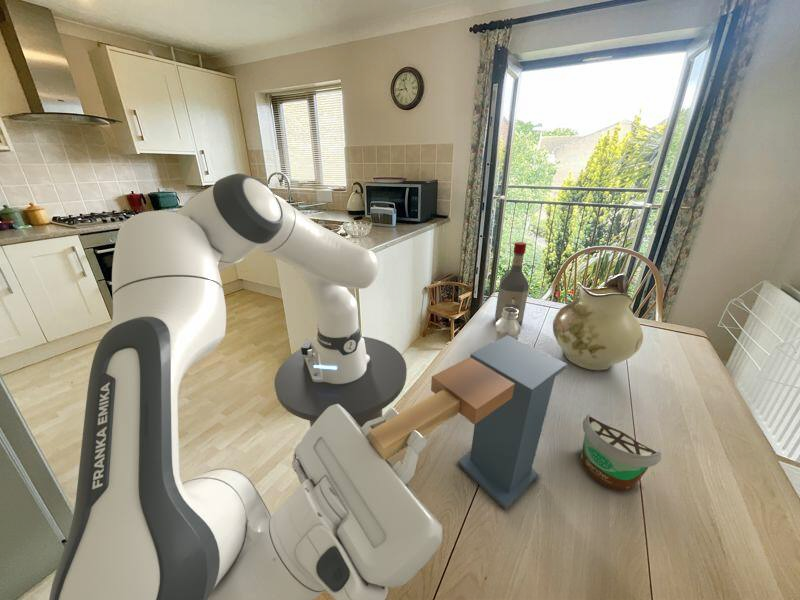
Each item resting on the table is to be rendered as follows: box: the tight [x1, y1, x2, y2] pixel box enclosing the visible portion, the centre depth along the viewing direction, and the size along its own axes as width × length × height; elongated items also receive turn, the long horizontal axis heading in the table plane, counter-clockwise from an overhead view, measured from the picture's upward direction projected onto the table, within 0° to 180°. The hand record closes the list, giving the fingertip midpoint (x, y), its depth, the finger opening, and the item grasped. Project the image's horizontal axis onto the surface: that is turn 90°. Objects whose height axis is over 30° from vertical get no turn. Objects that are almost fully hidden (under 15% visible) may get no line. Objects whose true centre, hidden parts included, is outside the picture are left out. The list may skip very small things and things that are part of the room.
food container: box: [580, 412, 663, 492], centre depth 57 cm, size 12×6×10 cm, turn 40°
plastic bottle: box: [493, 307, 521, 342], centre depth 83 cm, size 6×7×20 cm
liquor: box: [494, 241, 530, 328], centre depth 109 cm, size 9×9×30 cm
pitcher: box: [552, 273, 644, 371], centre depth 90 cm, size 22×24×25 cm
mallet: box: [369, 356, 515, 460], centre depth 40 cm, size 8×20×2 cm, turn 127°
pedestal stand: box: [457, 335, 568, 510], centre depth 55 cm, size 11×10×26 cm
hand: (409, 423), depth 37 cm, fingers closed on mallet, 3 cm apart
